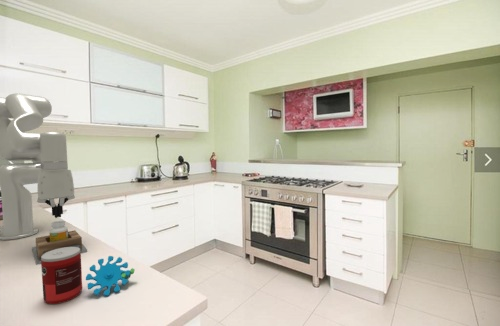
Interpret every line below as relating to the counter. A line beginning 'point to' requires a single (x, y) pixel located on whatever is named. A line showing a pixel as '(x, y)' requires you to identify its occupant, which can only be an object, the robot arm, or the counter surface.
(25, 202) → the robot arm
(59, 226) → the supplement bottle
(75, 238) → the frame
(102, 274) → the gear
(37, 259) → the jig plate
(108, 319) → the counter surface
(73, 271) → the canned food
